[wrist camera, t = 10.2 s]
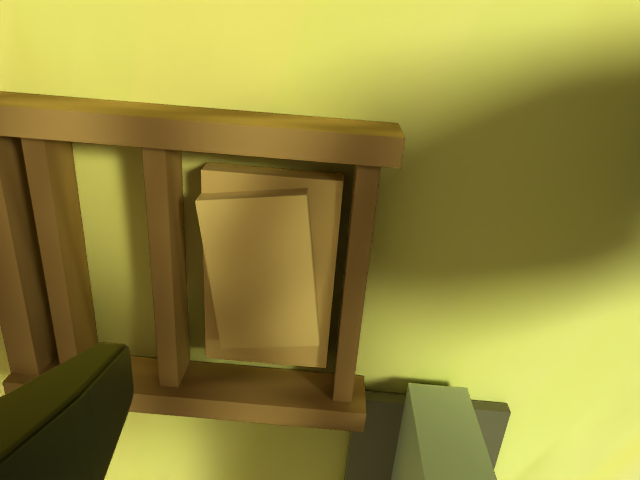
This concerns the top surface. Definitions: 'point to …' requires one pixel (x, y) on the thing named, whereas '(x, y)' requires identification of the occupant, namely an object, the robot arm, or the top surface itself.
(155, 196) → the rack
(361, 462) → the rubber mat
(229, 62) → the top surface
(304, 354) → the offcut stack
